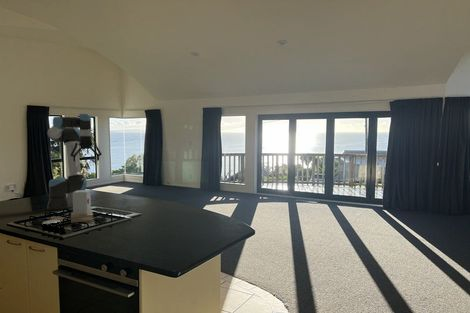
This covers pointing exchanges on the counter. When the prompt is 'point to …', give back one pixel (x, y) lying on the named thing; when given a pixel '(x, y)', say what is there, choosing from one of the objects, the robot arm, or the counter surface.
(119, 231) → the counter surface
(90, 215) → the maple block
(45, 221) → the cream smooth round part
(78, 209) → the supplement box
